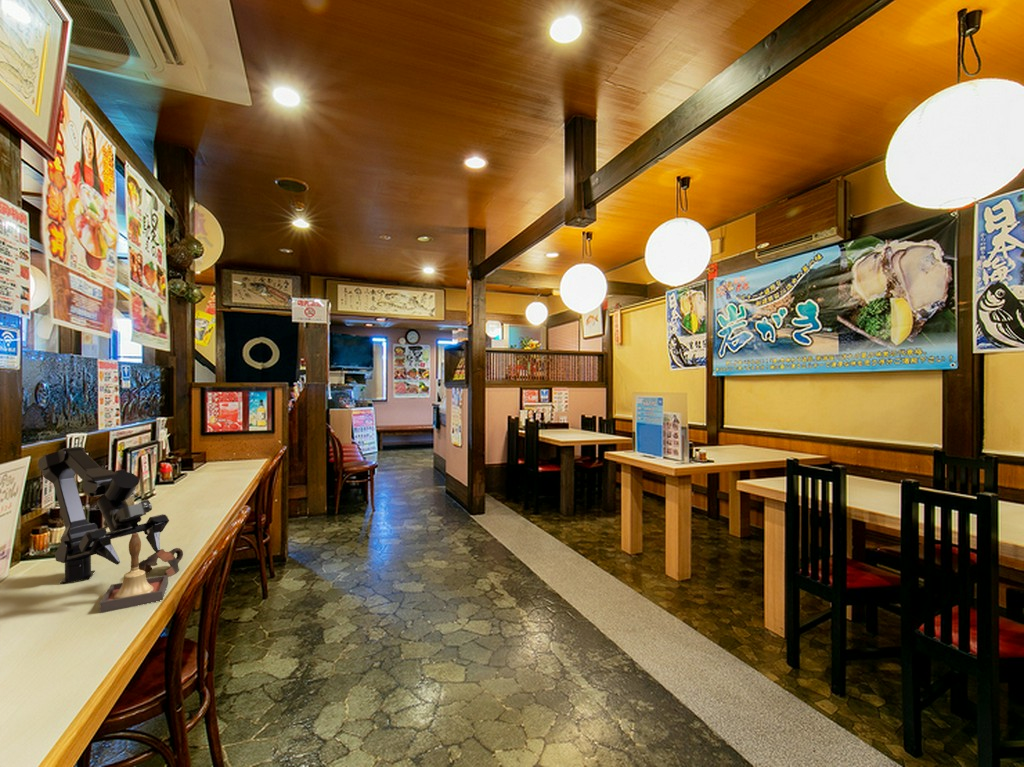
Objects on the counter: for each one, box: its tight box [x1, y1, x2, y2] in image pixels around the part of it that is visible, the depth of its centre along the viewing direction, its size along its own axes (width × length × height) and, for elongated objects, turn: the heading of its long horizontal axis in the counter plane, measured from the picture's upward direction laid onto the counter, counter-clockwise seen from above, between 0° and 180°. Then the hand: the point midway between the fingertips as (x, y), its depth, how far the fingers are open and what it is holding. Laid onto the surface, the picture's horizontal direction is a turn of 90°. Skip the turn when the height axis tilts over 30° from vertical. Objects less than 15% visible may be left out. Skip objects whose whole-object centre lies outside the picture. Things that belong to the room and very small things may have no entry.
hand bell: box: [114, 532, 154, 599], centre depth 125 cm, size 8×8×16 cm
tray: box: [99, 574, 169, 614], centre depth 125 cm, size 13×13×2 cm
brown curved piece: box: [139, 547, 184, 578], centre depth 142 cm, size 12×10×8 cm
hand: (139, 557), depth 125 cm, fingers open, 9 cm apart
